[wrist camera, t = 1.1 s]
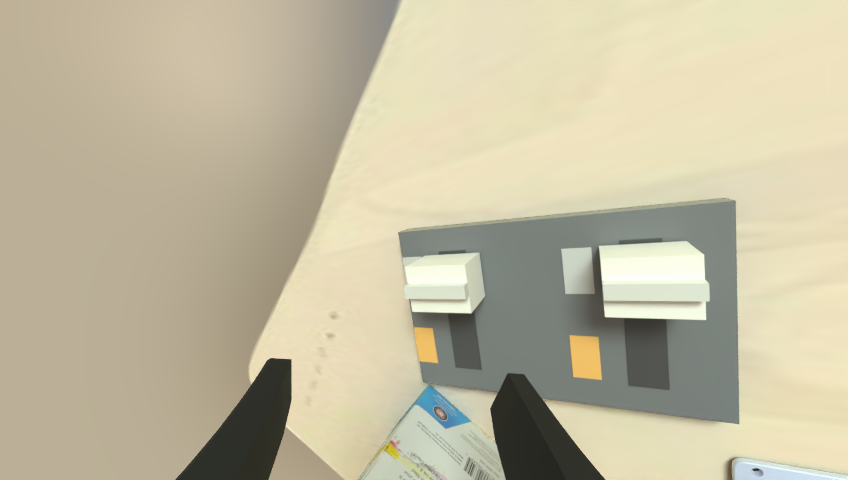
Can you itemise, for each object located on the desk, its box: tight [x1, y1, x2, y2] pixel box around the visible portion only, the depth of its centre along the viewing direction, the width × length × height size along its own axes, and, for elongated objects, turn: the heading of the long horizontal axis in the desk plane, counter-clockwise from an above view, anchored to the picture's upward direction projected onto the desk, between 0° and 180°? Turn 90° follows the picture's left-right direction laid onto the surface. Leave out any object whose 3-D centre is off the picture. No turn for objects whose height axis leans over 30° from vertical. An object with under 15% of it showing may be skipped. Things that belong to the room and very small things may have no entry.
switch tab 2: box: [599, 241, 710, 320], centre depth 17 cm, size 4×3×4 cm
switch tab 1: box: [403, 253, 485, 313], centre depth 22 cm, size 4×3×4 cm
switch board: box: [398, 198, 739, 424], centre depth 22 cm, size 19×12×2 cm, turn 100°
